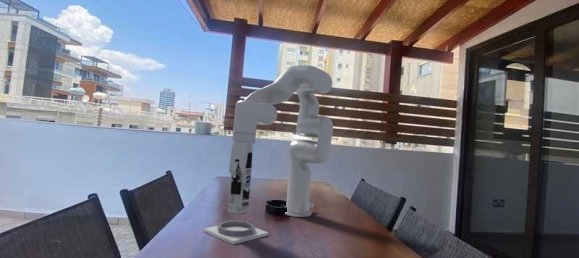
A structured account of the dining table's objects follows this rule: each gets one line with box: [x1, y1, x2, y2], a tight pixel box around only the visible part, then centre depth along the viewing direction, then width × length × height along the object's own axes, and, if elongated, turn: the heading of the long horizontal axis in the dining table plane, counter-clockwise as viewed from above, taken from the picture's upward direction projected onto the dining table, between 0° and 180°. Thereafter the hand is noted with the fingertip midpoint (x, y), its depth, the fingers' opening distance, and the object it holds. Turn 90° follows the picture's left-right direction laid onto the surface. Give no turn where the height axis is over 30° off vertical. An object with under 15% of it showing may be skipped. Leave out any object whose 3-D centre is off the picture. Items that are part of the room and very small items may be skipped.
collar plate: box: [203, 220, 269, 245], centre depth 115 cm, size 15×15×2 cm
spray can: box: [227, 152, 253, 215], centre depth 115 cm, size 7×7×20 cm
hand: (239, 191), depth 115 cm, fingers closed on spray can, 6 cm apart
